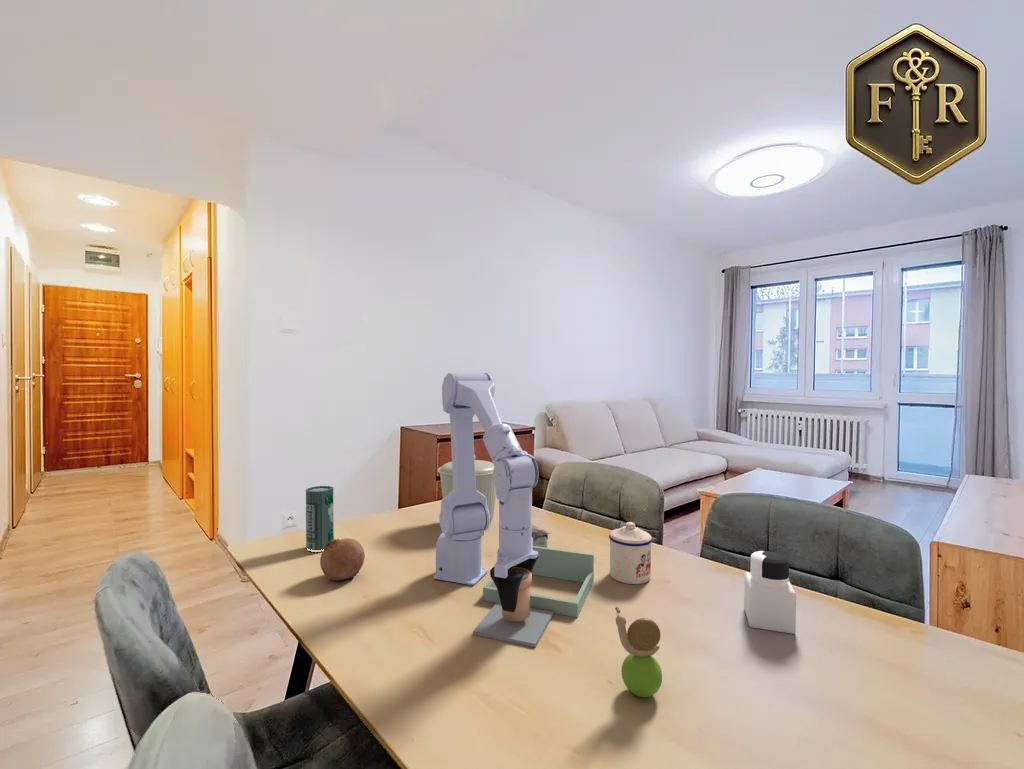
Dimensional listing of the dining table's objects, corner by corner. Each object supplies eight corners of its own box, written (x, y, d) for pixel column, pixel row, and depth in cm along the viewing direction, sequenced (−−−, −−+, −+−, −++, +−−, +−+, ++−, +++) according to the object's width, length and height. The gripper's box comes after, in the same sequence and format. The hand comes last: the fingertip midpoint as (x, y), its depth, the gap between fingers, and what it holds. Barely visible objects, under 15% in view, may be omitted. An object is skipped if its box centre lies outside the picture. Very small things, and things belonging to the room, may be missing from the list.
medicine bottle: (786, 615, 88) (788, 550, 87) (796, 635, 81) (797, 564, 81) (743, 608, 90) (744, 545, 90) (749, 627, 83) (750, 559, 83)
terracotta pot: (494, 619, 82) (493, 579, 82) (506, 601, 88) (505, 564, 87) (526, 625, 81) (525, 585, 80) (536, 607, 86) (536, 569, 85)
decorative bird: (525, 541, 126) (525, 511, 126) (558, 565, 110) (558, 531, 110) (505, 544, 124) (505, 513, 123) (535, 569, 108) (535, 534, 108)
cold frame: (483, 600, 93) (483, 569, 93) (510, 569, 107) (511, 542, 107) (577, 617, 86) (577, 584, 86) (593, 582, 101) (593, 554, 101)
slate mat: (473, 634, 81) (473, 630, 81) (497, 604, 91) (497, 601, 91) (535, 647, 77) (535, 643, 77) (553, 615, 87) (553, 611, 87)
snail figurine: (609, 681, 68) (610, 598, 68) (653, 679, 69) (653, 597, 69) (621, 708, 63) (622, 618, 63) (668, 705, 64) (669, 616, 63)
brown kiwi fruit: (325, 595, 101) (302, 557, 99) (349, 567, 109) (329, 532, 108) (357, 586, 98) (334, 547, 96) (380, 559, 106) (359, 522, 104)
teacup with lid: (643, 589, 98) (644, 532, 97) (602, 578, 103) (602, 524, 102) (661, 569, 108) (661, 518, 107) (622, 560, 113) (622, 511, 112)
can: (337, 547, 120) (337, 488, 120) (314, 554, 116) (313, 493, 115) (325, 542, 124) (325, 484, 124) (302, 548, 120) (302, 488, 119)
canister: (510, 520, 143) (510, 450, 143) (482, 539, 127) (482, 460, 126) (458, 512, 151) (458, 446, 150) (425, 530, 134) (425, 455, 134)
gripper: (523, 541, 75) (523, 626, 76) (548, 516, 89) (548, 588, 89) (482, 536, 78) (482, 618, 78) (513, 512, 91) (512, 582, 92)
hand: (515, 602), depth 84 cm, fingers closed on terracotta pot, 6 cm apart
